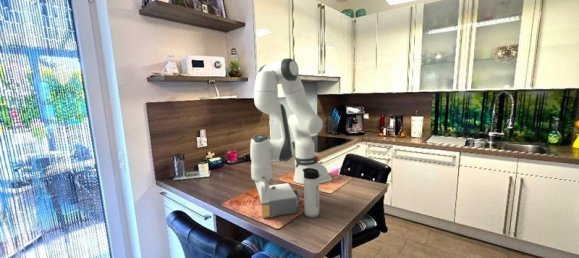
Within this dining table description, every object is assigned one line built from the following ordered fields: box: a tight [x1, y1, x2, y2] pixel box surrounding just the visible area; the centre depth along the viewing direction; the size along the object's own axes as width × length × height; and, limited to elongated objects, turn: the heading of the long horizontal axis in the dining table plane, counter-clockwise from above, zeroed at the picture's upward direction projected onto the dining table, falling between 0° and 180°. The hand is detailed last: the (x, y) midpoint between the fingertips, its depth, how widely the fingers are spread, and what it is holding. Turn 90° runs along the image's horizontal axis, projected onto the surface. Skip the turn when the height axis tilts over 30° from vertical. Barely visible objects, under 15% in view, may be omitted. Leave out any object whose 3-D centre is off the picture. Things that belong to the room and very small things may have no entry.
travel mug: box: [303, 168, 320, 219], centre depth 103 cm, size 6×7×20 cm
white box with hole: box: [269, 182, 299, 202], centre depth 113 cm, size 14×16×8 cm
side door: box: [260, 197, 299, 219], centre depth 104 cm, size 16×1×6 cm, turn 104°
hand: (263, 203), depth 108 cm, fingers closed
